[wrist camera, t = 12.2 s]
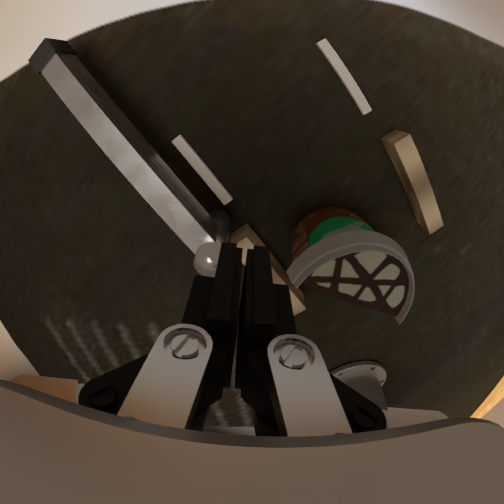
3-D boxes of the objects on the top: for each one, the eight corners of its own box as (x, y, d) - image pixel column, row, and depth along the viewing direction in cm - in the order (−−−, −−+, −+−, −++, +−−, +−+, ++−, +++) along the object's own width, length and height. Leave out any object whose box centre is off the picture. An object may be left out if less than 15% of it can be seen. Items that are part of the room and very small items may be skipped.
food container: (398, 224, 30) (444, 274, 21) (370, 266, 32) (402, 325, 24) (305, 174, 27) (332, 216, 18) (277, 227, 30) (289, 287, 21)
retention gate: (85, 44, 19) (37, 37, 12) (235, 222, 29) (231, 267, 22) (70, 61, 20) (20, 60, 13) (217, 235, 30) (207, 281, 23)
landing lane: (370, 109, 23) (372, 110, 23) (224, 203, 28) (224, 205, 28) (324, 39, 20) (325, 38, 20) (172, 140, 25) (171, 141, 25)
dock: (430, 213, 29) (443, 225, 26) (288, 300, 35) (290, 317, 32) (395, 129, 24) (410, 134, 22) (231, 233, 30) (229, 248, 27)
